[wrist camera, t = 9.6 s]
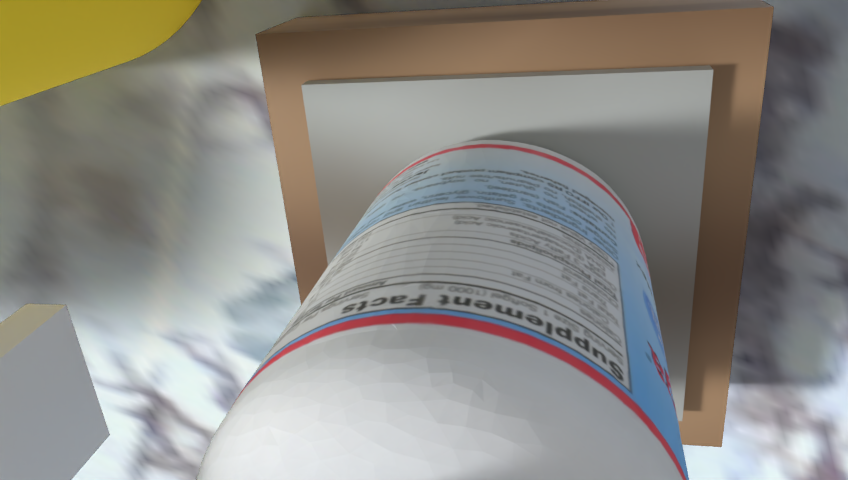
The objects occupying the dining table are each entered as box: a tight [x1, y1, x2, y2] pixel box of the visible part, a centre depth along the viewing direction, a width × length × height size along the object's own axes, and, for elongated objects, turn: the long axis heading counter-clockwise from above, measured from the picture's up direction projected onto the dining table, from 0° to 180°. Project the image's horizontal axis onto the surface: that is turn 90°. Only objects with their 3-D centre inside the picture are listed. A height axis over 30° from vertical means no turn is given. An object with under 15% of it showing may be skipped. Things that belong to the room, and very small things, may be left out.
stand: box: [256, 0, 774, 447], centre depth 17 cm, size 10×10×3 cm
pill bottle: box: [196, 140, 689, 480], centre depth 11 cm, size 6×6×11 cm
